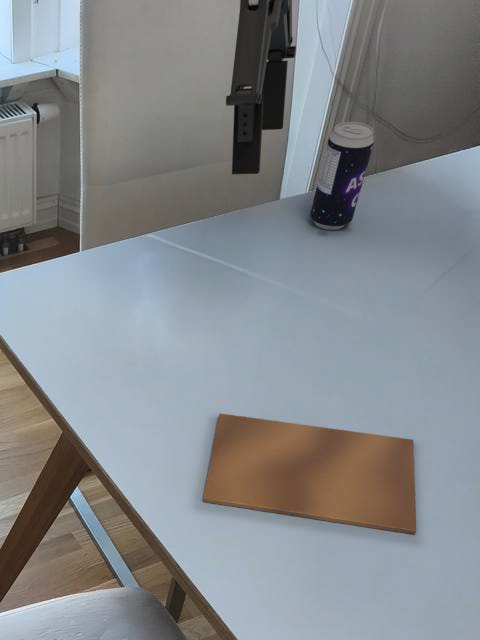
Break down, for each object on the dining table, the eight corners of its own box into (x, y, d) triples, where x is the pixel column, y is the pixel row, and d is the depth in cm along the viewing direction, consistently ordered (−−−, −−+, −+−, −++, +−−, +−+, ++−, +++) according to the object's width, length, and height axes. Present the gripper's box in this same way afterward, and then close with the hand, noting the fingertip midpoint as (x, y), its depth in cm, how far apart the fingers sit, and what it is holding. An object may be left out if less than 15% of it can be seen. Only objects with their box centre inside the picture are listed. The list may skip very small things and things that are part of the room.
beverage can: (337, 236, 119) (363, 142, 110) (300, 224, 122) (322, 130, 113) (358, 221, 122) (385, 127, 113) (321, 209, 124) (344, 116, 115)
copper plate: (412, 443, 92) (413, 439, 91) (414, 534, 83) (416, 530, 83) (218, 416, 96) (219, 413, 95) (202, 501, 87) (203, 498, 87)
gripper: (257, -119, 90) (246, 113, 105) (199, -70, 74) (196, 194, 89) (334, -129, 87) (312, 110, 102) (290, -81, 72) (272, 193, 87)
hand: (258, 150), depth 96 cm, fingers open, 13 cm apart
